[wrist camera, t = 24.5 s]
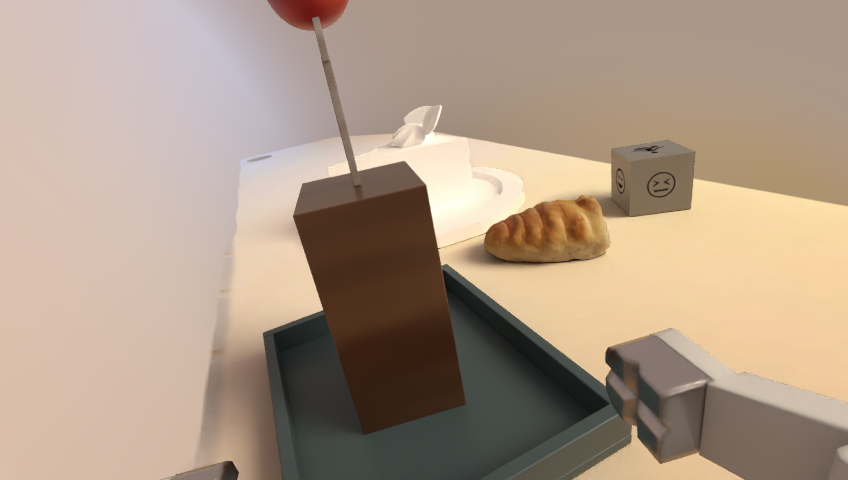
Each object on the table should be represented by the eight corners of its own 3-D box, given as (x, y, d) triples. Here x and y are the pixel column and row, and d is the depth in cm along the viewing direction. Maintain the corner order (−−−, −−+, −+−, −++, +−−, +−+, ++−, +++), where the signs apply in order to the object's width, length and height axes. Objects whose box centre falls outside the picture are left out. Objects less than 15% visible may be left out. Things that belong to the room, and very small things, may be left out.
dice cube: (665, 191, 40) (668, 139, 38) (690, 208, 36) (695, 151, 34) (611, 198, 41) (611, 148, 39) (629, 216, 37) (630, 161, 35)
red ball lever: (466, 404, 20) (372, -109, 12) (364, 435, 19) (195, -84, 11) (441, 343, 24) (361, -58, 17) (358, 366, 24) (234, -38, 16)
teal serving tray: (631, 442, 17) (632, 406, 16) (318, 638, 13) (299, 603, 12) (450, 287, 31) (446, 263, 30) (272, 357, 27) (262, 332, 26)
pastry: (491, 275, 32) (484, 229, 30) (482, 240, 38) (476, 201, 36) (617, 257, 31) (617, 209, 29) (587, 224, 37) (586, 183, 35)
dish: (445, 167, 64) (433, 92, 60) (574, 194, 44) (570, 82, 39) (291, 218, 54) (262, 132, 50) (363, 285, 34) (325, 148, 29)
